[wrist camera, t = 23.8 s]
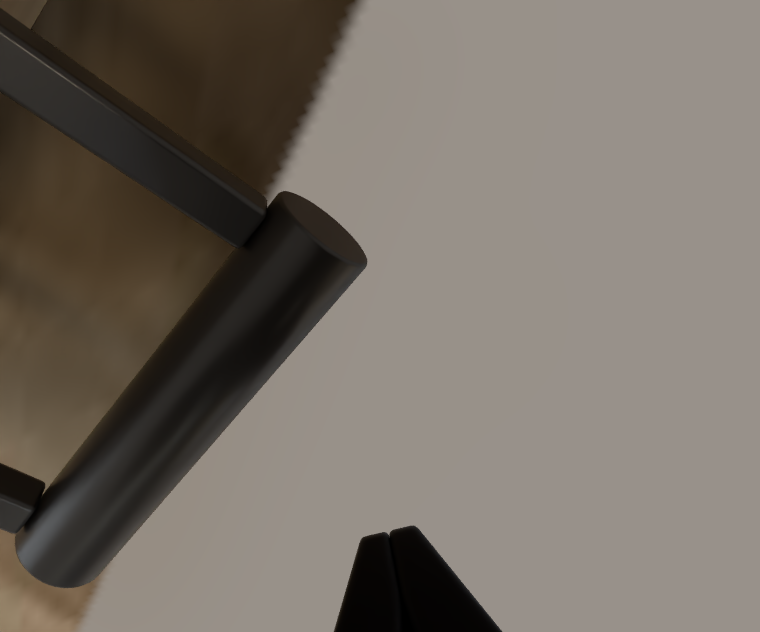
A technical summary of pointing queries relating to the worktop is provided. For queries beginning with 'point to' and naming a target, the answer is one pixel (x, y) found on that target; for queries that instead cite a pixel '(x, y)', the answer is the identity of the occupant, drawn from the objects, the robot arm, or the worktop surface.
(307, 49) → the worktop surface
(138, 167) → the drawer
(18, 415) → the worktop surface
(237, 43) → the worktop surface
